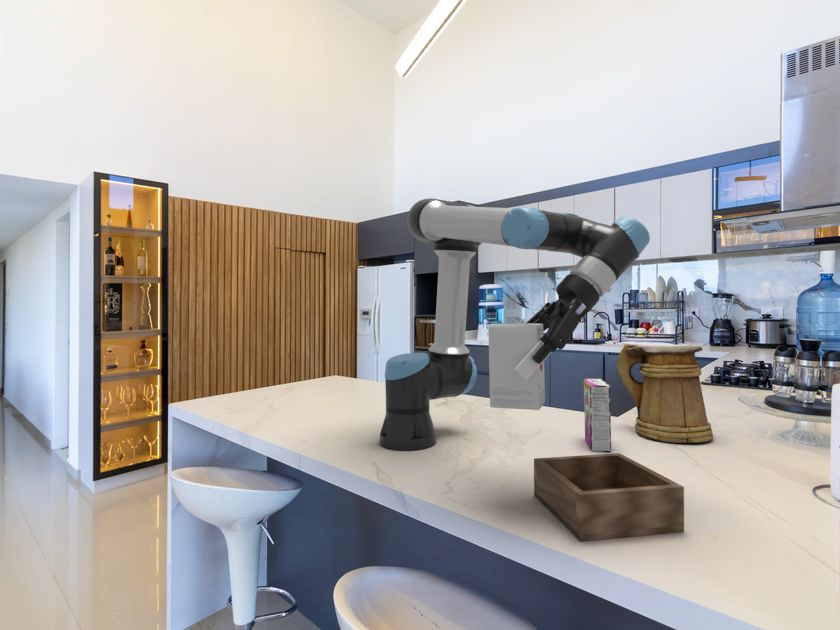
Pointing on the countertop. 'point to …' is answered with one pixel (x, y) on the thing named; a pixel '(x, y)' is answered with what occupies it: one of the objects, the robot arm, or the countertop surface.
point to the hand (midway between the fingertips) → (508, 371)
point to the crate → (608, 496)
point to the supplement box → (504, 357)
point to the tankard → (666, 393)
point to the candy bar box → (597, 414)
